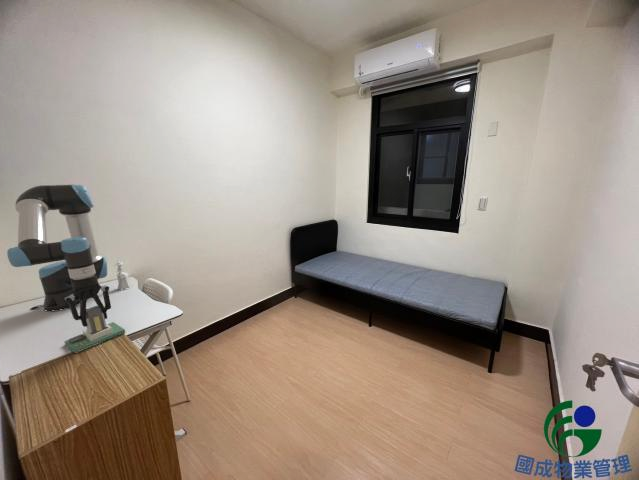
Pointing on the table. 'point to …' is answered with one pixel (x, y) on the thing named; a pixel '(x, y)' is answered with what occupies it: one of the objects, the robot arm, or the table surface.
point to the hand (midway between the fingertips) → (97, 329)
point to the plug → (95, 319)
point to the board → (93, 337)
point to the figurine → (122, 277)
